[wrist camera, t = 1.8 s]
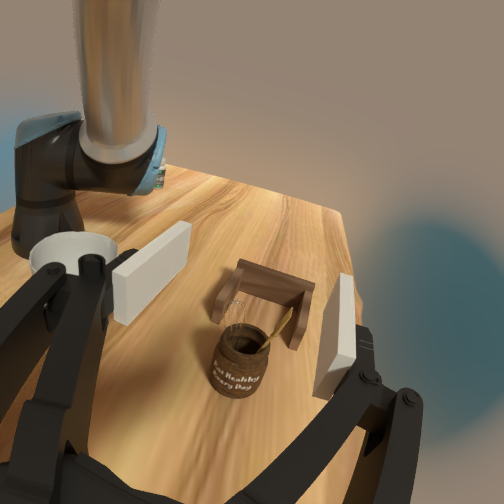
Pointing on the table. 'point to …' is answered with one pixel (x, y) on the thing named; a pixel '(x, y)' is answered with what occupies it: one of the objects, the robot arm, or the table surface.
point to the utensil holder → (242, 357)
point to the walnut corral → (268, 293)
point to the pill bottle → (161, 175)
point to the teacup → (71, 250)
